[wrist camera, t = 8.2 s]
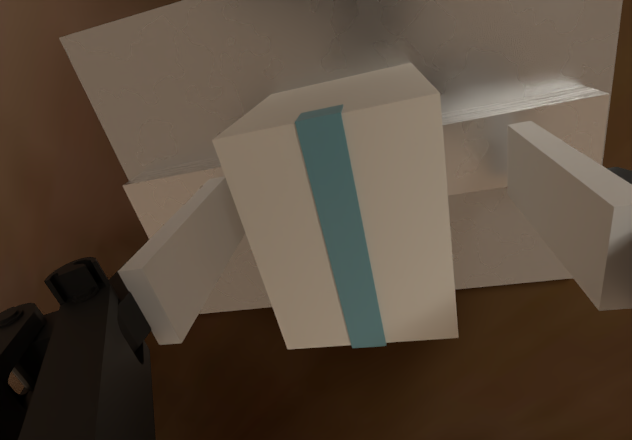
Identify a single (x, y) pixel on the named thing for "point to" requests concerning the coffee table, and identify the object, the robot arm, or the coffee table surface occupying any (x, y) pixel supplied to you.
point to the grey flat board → (343, 61)
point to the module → (348, 208)
